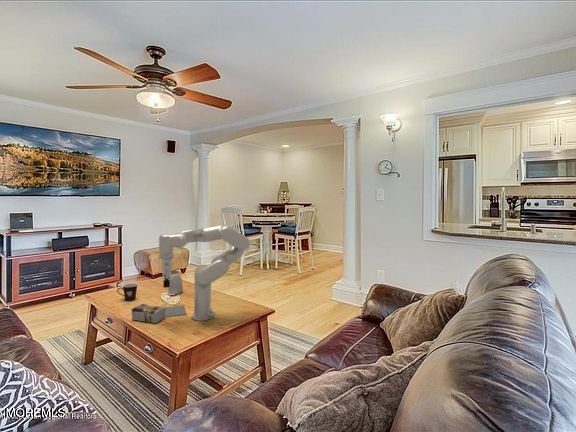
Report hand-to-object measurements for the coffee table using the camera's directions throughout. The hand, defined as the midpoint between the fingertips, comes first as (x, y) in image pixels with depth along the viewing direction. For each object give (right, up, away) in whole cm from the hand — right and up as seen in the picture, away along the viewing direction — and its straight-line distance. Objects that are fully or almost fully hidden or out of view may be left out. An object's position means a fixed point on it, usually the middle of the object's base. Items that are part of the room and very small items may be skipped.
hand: (166, 286), depth 179 cm
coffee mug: (-39, -16, +34) cm, 54 cm away
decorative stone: (-12, -16, +48) cm, 53 cm away
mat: (-6, -19, +13) cm, 24 cm away
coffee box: (-3, -16, 0) cm, 17 cm away
